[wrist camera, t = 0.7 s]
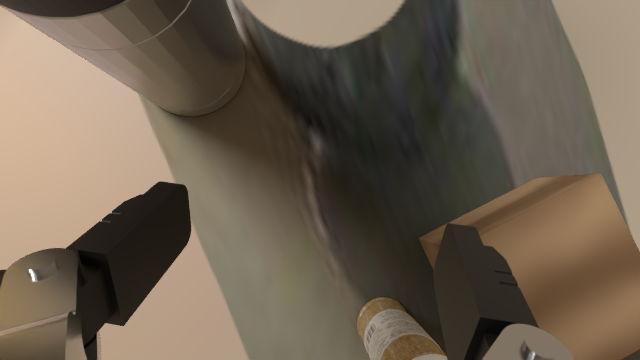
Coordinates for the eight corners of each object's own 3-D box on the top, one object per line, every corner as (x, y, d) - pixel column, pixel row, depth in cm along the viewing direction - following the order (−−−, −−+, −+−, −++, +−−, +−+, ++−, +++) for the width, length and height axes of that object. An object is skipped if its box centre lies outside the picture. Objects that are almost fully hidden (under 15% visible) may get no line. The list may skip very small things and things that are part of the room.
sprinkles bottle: (394, 357, 31) (467, 480, 18) (346, 335, 31) (383, 442, 18) (416, 308, 31) (505, 393, 18) (369, 286, 31) (423, 354, 18)
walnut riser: (418, 238, 32) (451, 250, 25) (535, 178, 33) (600, 173, 26) (478, 362, 32) (530, 410, 25) (595, 299, 32) (677, 328, 25)
